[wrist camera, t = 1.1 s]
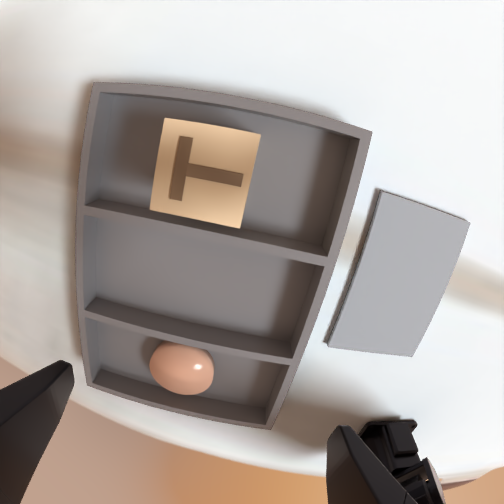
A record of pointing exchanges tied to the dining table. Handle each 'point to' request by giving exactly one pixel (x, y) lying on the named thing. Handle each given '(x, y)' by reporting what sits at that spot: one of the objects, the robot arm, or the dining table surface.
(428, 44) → the dining table surface
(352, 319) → the mat
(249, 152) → the letter cube
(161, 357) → the peach egg shape
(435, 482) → the robot arm
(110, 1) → the dining table surface
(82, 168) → the organizer tray
